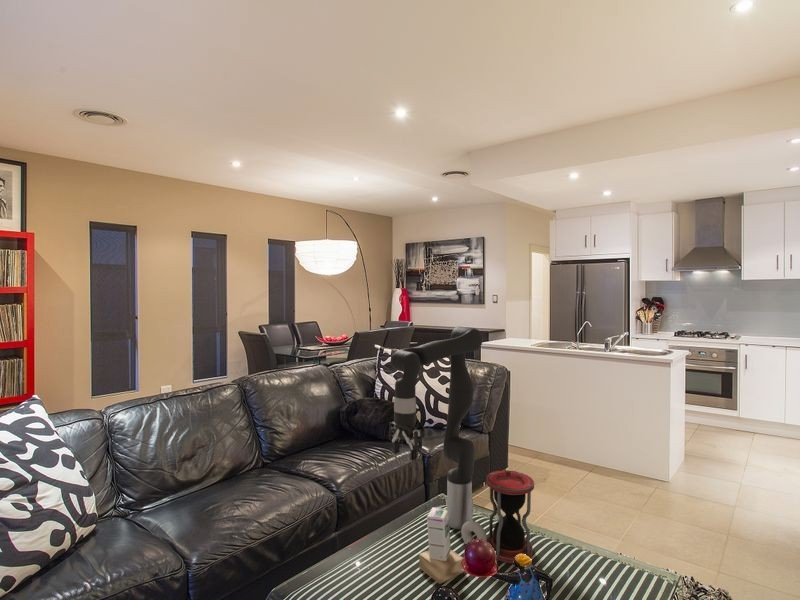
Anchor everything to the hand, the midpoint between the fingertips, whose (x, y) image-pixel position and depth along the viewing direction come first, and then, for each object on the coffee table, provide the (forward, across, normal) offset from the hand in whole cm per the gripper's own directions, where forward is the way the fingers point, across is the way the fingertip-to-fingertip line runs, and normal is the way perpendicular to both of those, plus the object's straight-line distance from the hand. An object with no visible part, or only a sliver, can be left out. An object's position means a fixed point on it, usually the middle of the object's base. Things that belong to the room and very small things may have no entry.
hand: (404, 456), depth 164 cm
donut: (+33, -16, -18) cm, 41 cm away
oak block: (+33, -16, -1) cm, 37 cm away
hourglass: (+33, -24, -27) cm, 49 cm away
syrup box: (+28, -16, -1) cm, 32 cm away
